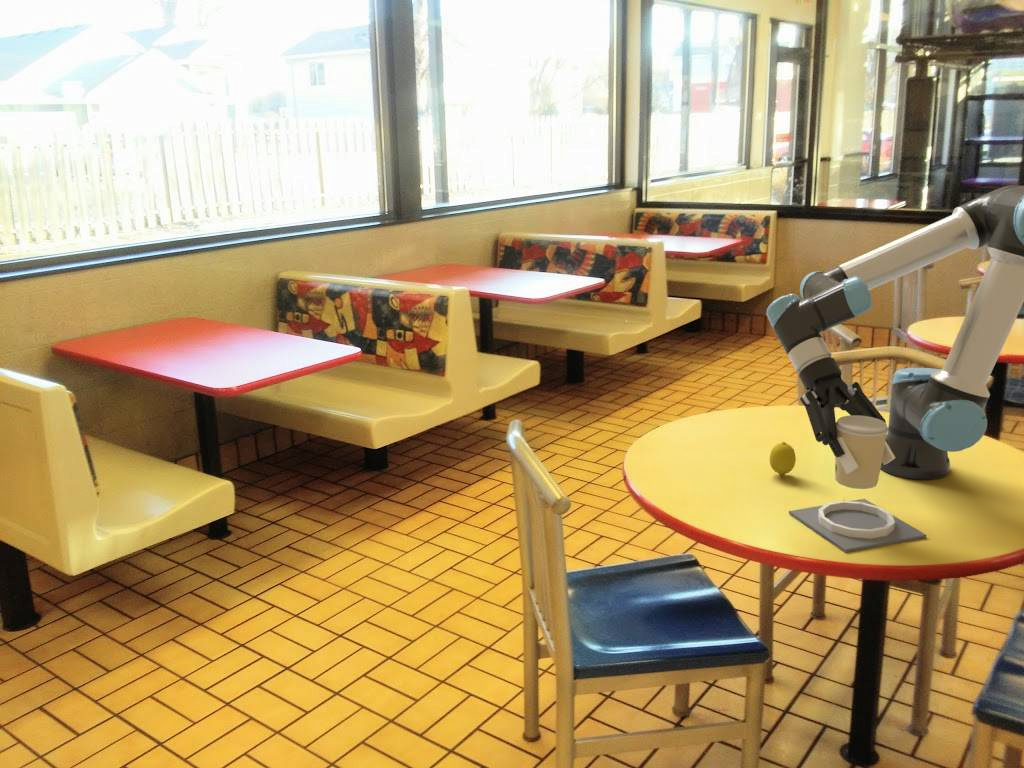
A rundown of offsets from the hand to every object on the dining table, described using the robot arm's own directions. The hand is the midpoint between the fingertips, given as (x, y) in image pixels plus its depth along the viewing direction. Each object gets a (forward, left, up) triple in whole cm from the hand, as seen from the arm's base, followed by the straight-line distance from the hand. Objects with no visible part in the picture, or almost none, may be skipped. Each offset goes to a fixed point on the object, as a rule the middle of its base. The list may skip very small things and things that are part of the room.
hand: (871, 466), depth 168 cm
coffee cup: (+1, -3, -4) cm, 5 cm away
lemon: (-1, -30, -14) cm, 33 cm away
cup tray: (0, -3, -14) cm, 14 cm away
